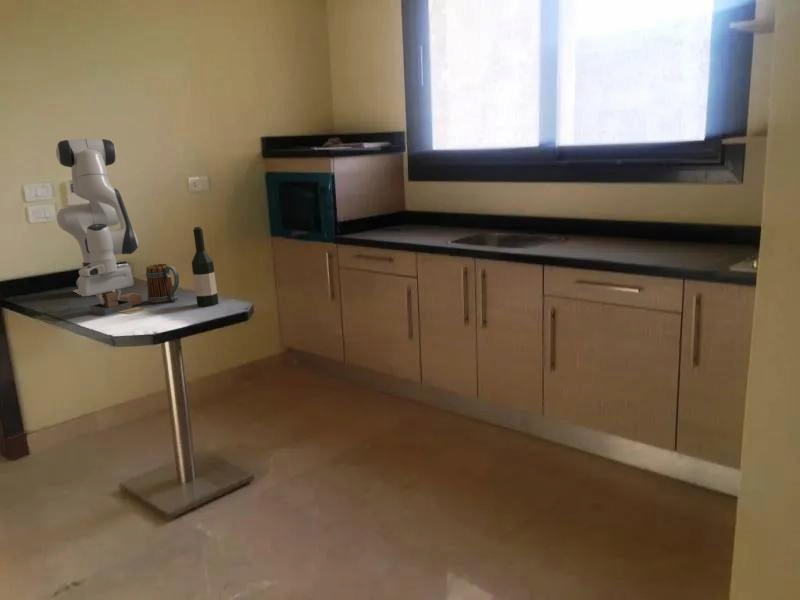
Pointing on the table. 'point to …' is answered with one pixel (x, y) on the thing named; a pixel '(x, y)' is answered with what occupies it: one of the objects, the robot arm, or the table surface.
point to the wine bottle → (203, 273)
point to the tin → (110, 308)
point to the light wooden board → (133, 310)
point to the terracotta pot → (132, 298)
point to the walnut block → (110, 299)
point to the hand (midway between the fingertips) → (110, 302)
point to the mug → (161, 283)
